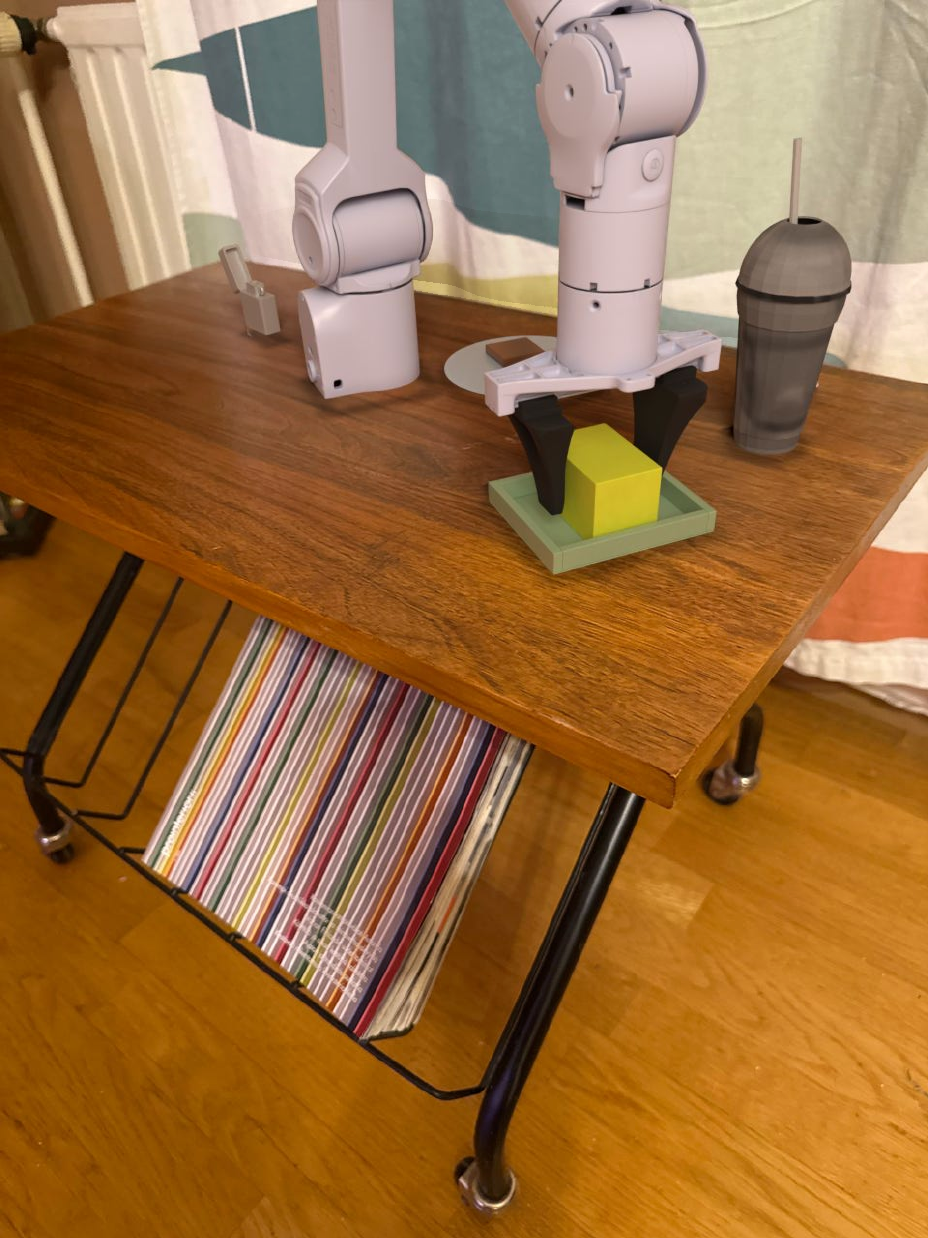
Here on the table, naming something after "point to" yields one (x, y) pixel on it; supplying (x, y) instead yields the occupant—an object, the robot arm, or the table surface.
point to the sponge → (608, 483)
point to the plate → (482, 362)
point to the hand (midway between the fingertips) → (598, 495)
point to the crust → (512, 351)
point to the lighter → (250, 293)
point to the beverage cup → (786, 323)
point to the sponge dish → (569, 550)
